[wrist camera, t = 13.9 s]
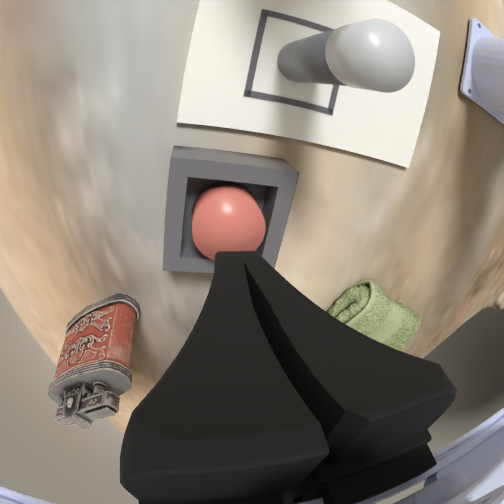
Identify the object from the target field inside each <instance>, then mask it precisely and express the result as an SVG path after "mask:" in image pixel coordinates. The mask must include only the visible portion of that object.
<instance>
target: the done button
mask: <svg viewBox="0 0 504 504" xmlns="http://www.w3.org/2000/svg"><path fill="white" fill-rule="evenodd" d="M265 228H266V225H265V220H264V217H263V214H262V212H261V210H260V209H259V207H258V205H257V203H256V201H255V199H254V197H253V196H252V194H251V193H250V192H249V191H248V190H247V189H246V188H245V187H243V186H241V185H239V184H237V183H233V182H219V183H215V184H212V185H210V186H208V187H207V188H205V189H204V190H203V191H201V192H200V193H199V195H198V196H197V197H196V199H195V201H194V203H193V206H192V236H193V240H194V243H195V245H196V247H197V248H198V250H199V251H200V252H201V253H202V254H203V255H205V256H206V257H208V258H210V259H212V260H215V254H216V253H217V252H218V251H255V250H256V249H257V248H258V247H259V246H260V244H261V242H262V240H263V238H264V235H265Z"/></svg>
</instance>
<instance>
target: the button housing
mask: <svg viewBox="0 0 504 504" xmlns="http://www.w3.org/2000/svg"><path fill="white" fill-rule="evenodd" d="M298 176H299V172H298V171H297V170H296V169H294V168H293V167H292V166H291V165H290V164H289V163H288V162H287V161H285V160H284V159H280V158H273V157H267V156H260V155H253V154H246V153H239V152H231V151H222V150H214V149H204V148H194V147H183V146H174V147H173V151H172V155H171V160H170V170H169V180H168V192H167V204H166V218H165V234H164V256H163V271H179V272H197V273H214V260H212V259H210V258H208V257H206V256H205V255H203V254H202V253H201V252H200V251H199V250H198V248H197V247H196V245H195V243H194V240H193V236H192V206H193V203H194V201H195V199H196V197H197V196H198V195H199V193H200V192H201V191H203V190H204V189H205V188H207V187H208V186H210V185H212V184H215V183H219V182H233V183H237V184H239V185H241V186H243V187H245V188H246V189H247V190H248V191H249V192H250V193H251V194H252V196H253V197H254V199H255V201H256V203H257V205H258V207H259V209H260V210H261V212H262V214H263V217H264V220H265V225H266V228H265V235H264V238H263V240H262V242H261V244H260V246H259V247H258V248H257V249H256V250H255V251H256V252H258V253H259V254H260V255H261V256H262V257H263V258H264V259H265V260H266V261H267V262H268V263H269V264H270V265H271V266H272V267H273V268H275V264H276V261H277V257H278V253H279V250H280V246H281V242H282V238H283V234H284V231H285V227H286V223H287V219H288V215H289V211H290V207H291V204H292V200H293V196H294V192H295V188H296V184H297V180H298Z"/></svg>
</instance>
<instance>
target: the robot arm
mask: <svg viewBox="0 0 504 504" xmlns="http://www.w3.org/2000/svg"><path fill="white" fill-rule="evenodd" d="M460 91H461V93H462V94H464V95H465V96H467V97H468V98H469V99H471V100H472V101H474V102H475V103H476V104H478V105H479V106H480V107H482V108H483V109H484V110H486V111H487V112H488V113H490V114H491V115H492V116H493V117H495V118H496V119H497V120H498V121H500V122H501V123H502V124H503V125H504V38H503V37H495V36H494V35H493V34H492V33H491V32H490V31H489V30H488V29H487V28H486V27H485V26H484V25H483V24H482V23H480V22H479V21H478V20H477V19H476V18H470V24H469V34H468V42H467V50H466V57H465V63H464V69H463V75H462V80H461V85H460ZM455 396H456V389H455V387H454V386H453V384H452V382H451V381H450V379H449V378H448V376H447V375H446V373H445V372H444V370H443V369H442V367H441V366H440V365H439V364H437V363H433V362H431V361H428V360H424V359H421V358H418V357H415V356H412V355H409V354H406V353H404V352H401V351H399V350H396V349H394V348H392V347H389V346H387V345H385V344H382V343H380V342H378V341H376V340H374V339H372V338H370V337H368V336H366V335H364V334H362V333H360V332H359V331H357V330H355V329H353V328H351V327H349V326H348V325H346V324H344V323H343V322H341V321H339V320H338V319H336V318H335V317H333V316H332V315H330V314H329V313H327V312H326V311H324V310H323V309H321V308H320V307H319V306H317V305H316V304H315V303H313V302H312V301H311V300H309V299H308V298H307V297H306V296H304V295H303V294H302V293H301V292H299V291H298V290H297V289H296V288H295V287H294V286H292V285H291V284H290V283H289V282H288V281H287V280H286V279H285V278H284V277H282V276H281V275H280V274H279V273H278V272H277V271H276V270H275V269H274V268H273V267H272V266H271V265H270V264H269V263H268V262H267V261H266V260H265V259H264V258H263V257H262V256H261V255H260V254H259V253H258V252H256V251H218V252H217V253H216V254H215V260H214V276H213V280H212V283H211V287H210V290H209V293H208V296H207V298H206V301H205V304H204V306H203V309H202V311H201V313H200V316H199V318H198V320H197V322H196V324H195V326H194V328H193V330H192V332H191V333H190V335H189V337H188V339H187V340H186V342H185V344H184V345H183V347H182V349H181V350H180V352H179V354H178V355H177V357H176V358H175V359H174V361H173V362H172V364H171V365H170V366H169V368H168V369H167V371H166V372H165V373H164V375H163V376H162V378H161V379H160V380H159V381H158V383H157V384H156V385H155V386H154V388H153V389H152V390H151V391H150V392H149V393H148V394H147V396H146V397H145V398H144V399H143V400H142V401H141V402H140V404H139V405H138V406H137V407H136V408H135V409H134V410H133V412H132V414H131V417H130V420H129V422H128V425H127V428H126V431H125V435H124V439H123V443H122V448H121V455H120V483H121V484H122V486H123V487H124V488H125V489H126V490H127V491H128V492H129V493H131V494H132V495H133V496H134V497H135V498H137V499H138V500H139V504H375V503H377V502H380V501H382V500H384V499H386V498H389V497H391V496H393V495H395V494H397V493H400V492H402V491H404V490H406V489H408V488H410V487H412V486H414V485H416V484H418V483H419V482H421V481H423V480H425V479H426V481H425V483H424V487H423V488H422V489H421V490H419V491H417V492H415V493H413V494H411V495H409V496H408V497H406V498H404V499H402V500H400V501H398V502H396V503H394V504H504V408H503V409H501V410H500V411H498V412H497V413H496V414H494V415H493V416H492V417H490V418H489V419H487V420H486V421H485V422H483V423H482V424H480V425H479V426H477V427H476V428H475V429H473V430H471V431H470V432H468V433H466V434H465V435H463V436H462V437H460V438H459V439H457V440H455V441H453V442H452V443H450V444H448V445H447V446H445V447H443V448H441V449H440V450H438V451H436V452H434V453H432V452H431V451H430V449H429V447H428V445H427V443H428V442H429V441H431V435H430V433H429V431H428V430H427V429H428V428H429V427H430V426H431V425H432V424H433V423H434V422H435V421H436V420H437V419H438V418H439V417H440V416H441V415H442V414H443V413H444V412H445V411H446V410H447V408H448V407H449V406H450V405H451V404H452V402H453V401H454V399H455ZM0 504H56V503H52V502H48V501H44V500H41V499H37V498H34V497H31V496H27V495H24V494H21V493H18V492H15V491H13V490H10V489H7V488H4V487H2V486H0Z"/></svg>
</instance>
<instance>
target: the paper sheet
mask: <svg viewBox="0 0 504 504" xmlns="http://www.w3.org/2000/svg"><path fill="white" fill-rule="evenodd" d="M369 19H384V20H387V21H389V22H392V23H393V24H395V25H396V26H398V27H399V28H400V29H401V30H402V31H403V32H404V33H405V34H406V36H407V37H408V39H409V41H410V43H411V45H412V47H413V50H414V55H415V69H414V73H413V76H412V78H411V80H410V81H409V83H408V84H407V85H406V86H405V87H404V88H402V89H401V90H399V91H396V92H392V93H385V92H379V91H372V90H365V89H358V88H352V87H349V86H342V85H331V84H317V83H299V82H293V81H291V80H289V79H287V78H286V77H285V76H284V75H283V74H282V73H281V71H280V70H279V67H278V63H277V59H278V54H279V52H280V50H281V49H282V48H283V47H284V46H285V45H287V44H289V43H291V42H294V41H297V40H300V39H303V38H306V37H310V36H313V35H316V34H319V33H323V32H326V31H330V30H333V29H337V28H339V27H341V26H344V25H348V24H352V23H356V22H360V21H364V20H369ZM439 36H440V32H439V31H438V30H436V29H435V28H433V27H432V26H430V25H428V24H427V23H425V22H424V21H422V20H421V19H419V18H417V17H416V16H414V15H412V14H411V13H409V12H407V11H405V10H404V9H402V8H400V7H398V6H397V5H395V4H393V3H391V2H389V1H387V0H200V3H199V7H198V11H197V15H196V20H195V24H194V28H193V33H192V38H191V42H190V47H189V52H188V57H187V63H186V68H185V74H184V79H183V85H182V91H181V97H180V104H179V110H178V117H177V123H189V124H199V125H208V126H216V127H224V128H232V129H239V130H246V131H253V132H259V133H265V134H271V135H276V136H282V137H287V138H292V139H297V140H302V141H307V142H312V143H317V144H321V145H326V146H330V147H334V148H338V149H342V150H346V151H350V152H354V153H358V154H362V155H366V156H369V157H373V158H377V159H380V160H384V161H387V162H390V163H394V164H397V165H400V166H403V167H407V168H409V165H410V162H411V158H412V155H413V152H414V148H415V145H416V141H417V138H418V134H419V131H420V127H421V123H422V119H423V115H424V111H425V107H426V103H427V99H428V95H429V90H430V85H431V81H432V76H433V71H434V66H435V60H436V55H437V49H438V43H439Z"/></svg>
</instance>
